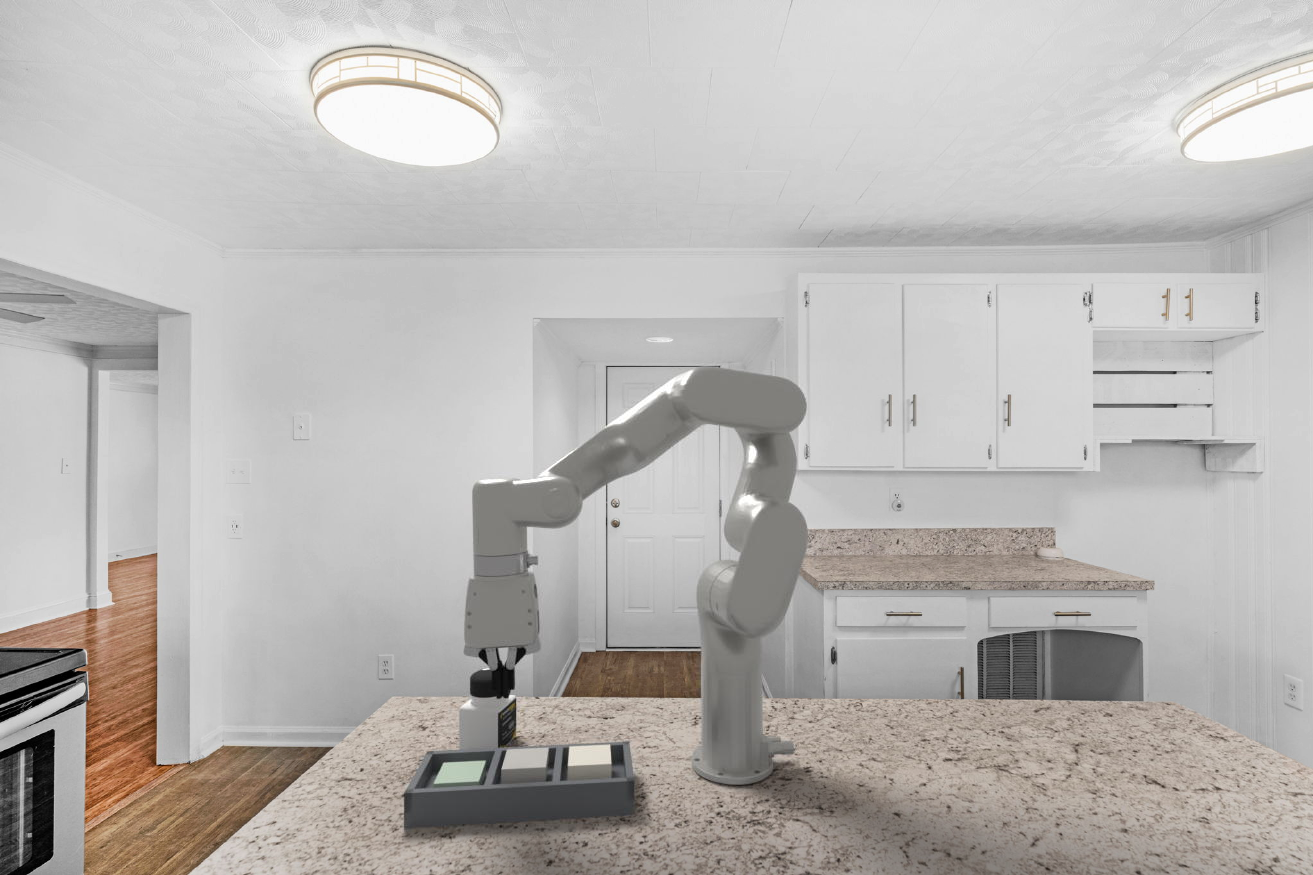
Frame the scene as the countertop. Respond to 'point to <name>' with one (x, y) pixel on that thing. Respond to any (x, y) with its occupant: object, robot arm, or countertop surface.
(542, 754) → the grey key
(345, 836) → the countertop surface
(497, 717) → the medicine bottle
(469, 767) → the sage key
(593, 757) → the cream key
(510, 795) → the grey compartment tray
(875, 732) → the countertop surface
